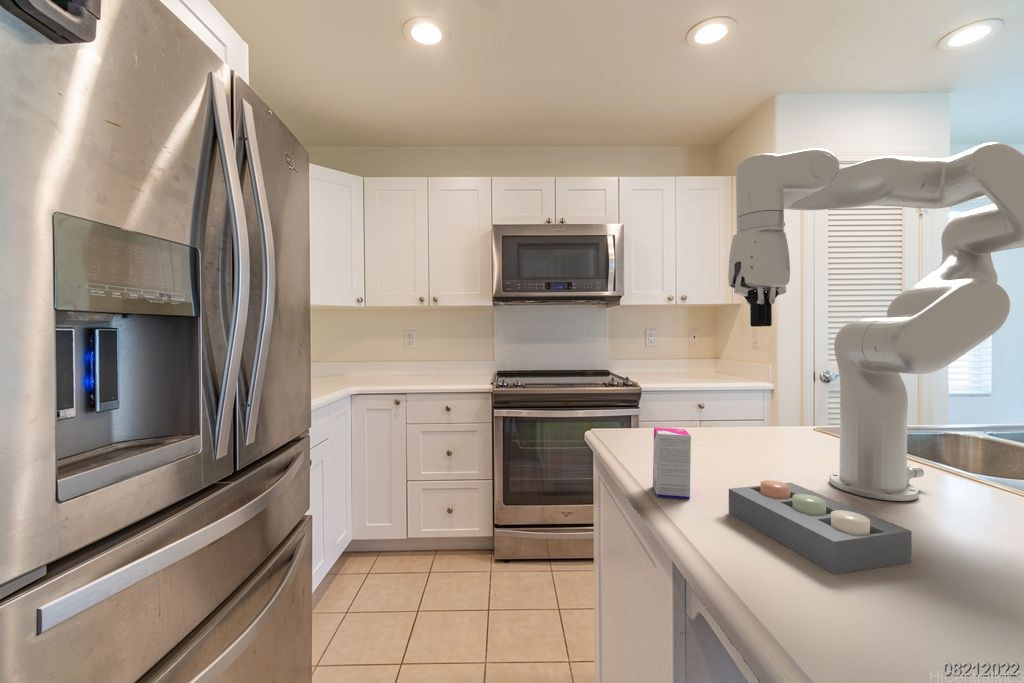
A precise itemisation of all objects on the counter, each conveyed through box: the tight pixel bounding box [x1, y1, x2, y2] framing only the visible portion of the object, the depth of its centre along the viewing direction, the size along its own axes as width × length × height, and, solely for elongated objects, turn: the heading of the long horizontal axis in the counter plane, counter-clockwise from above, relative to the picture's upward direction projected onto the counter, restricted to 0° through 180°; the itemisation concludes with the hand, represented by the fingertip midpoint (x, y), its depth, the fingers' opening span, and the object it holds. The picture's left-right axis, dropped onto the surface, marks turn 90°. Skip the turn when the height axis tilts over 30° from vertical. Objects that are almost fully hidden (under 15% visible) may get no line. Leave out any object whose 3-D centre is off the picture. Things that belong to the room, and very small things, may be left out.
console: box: [728, 482, 913, 575], centre depth 62 cm, size 12×18×4 cm, turn 12°
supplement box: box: [652, 427, 692, 500], centre depth 78 cm, size 6×6×12 cm
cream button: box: [831, 510, 870, 536], centre depth 56 cm, size 4×4×4 cm
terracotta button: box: [760, 479, 790, 500], centre depth 68 cm, size 4×4×4 cm
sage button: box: [792, 494, 826, 516], centre depth 62 cm, size 4×4×4 cm
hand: (760, 326), depth 79 cm, fingers closed
